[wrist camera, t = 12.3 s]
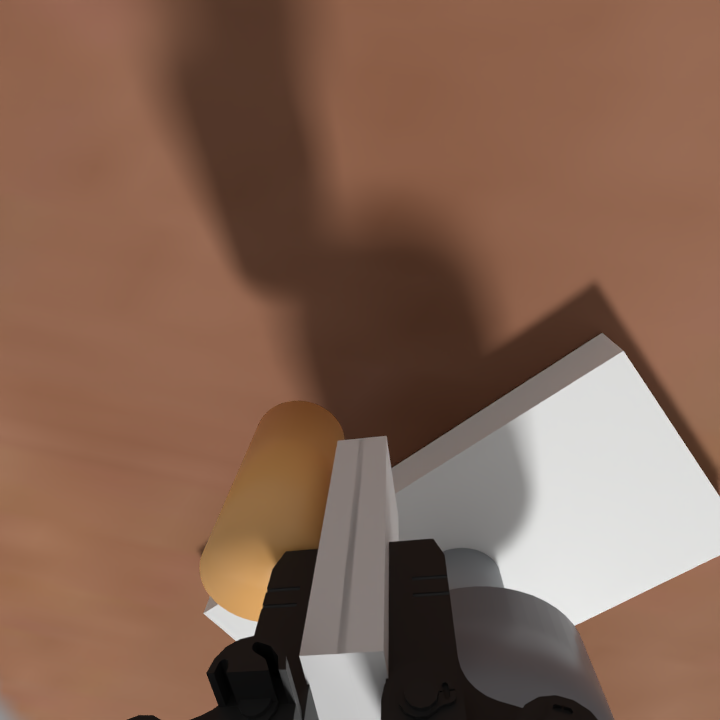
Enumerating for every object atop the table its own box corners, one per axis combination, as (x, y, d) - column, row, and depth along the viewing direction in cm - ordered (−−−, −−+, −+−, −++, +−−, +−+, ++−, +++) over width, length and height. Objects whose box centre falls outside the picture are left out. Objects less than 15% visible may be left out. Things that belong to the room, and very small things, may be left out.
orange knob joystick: (609, 657, 21) (696, 854, 15) (439, 728, 23) (460, 925, 17) (371, 342, 16) (366, 453, 10) (184, 466, 18) (92, 616, 12)
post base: (350, 699, 30) (343, 825, 24) (215, 581, 27) (173, 694, 21) (720, 510, 24) (822, 619, 19) (602, 332, 21) (681, 399, 16)
